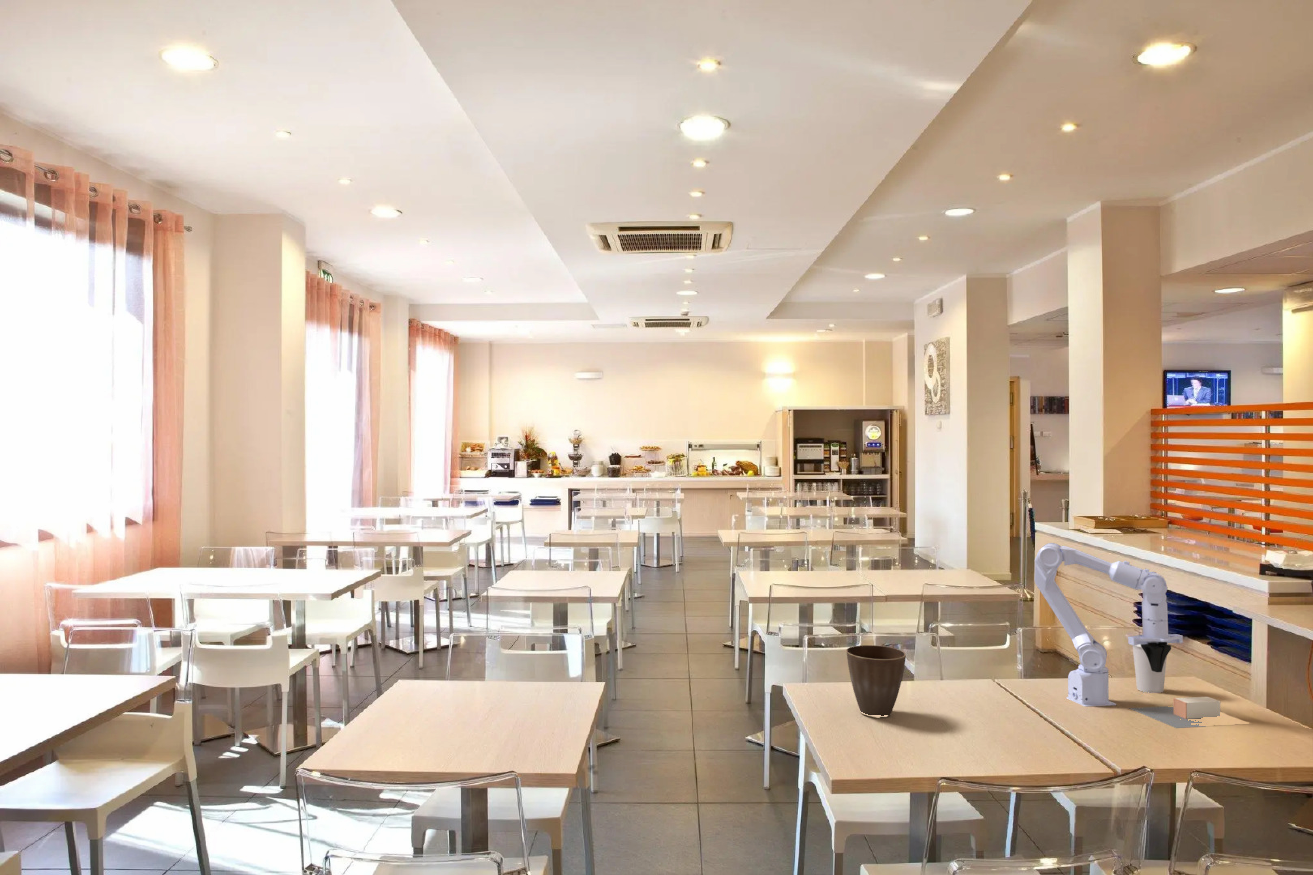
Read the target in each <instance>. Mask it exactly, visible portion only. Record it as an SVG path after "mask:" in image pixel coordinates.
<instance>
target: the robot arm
mask: <svg viewBox="0 0 1313 875" xmlns="http://www.w3.org/2000/svg"><path fill="white" fill-rule="evenodd" d="M1062 563H1064V564H1063V566H1070V565H1078V566H1082V567H1086V568H1088V569H1091V570H1095V571H1096V572H1097V571H1098V572H1100V573H1103V574H1106V575H1108V577H1109V578H1110V580H1111V581H1112V582H1114V583H1117V584H1120V585H1123V586H1126V587H1128V588H1131V589H1134V590H1141V591H1142V600H1141V614H1142V615H1141V618H1142V634H1138V635H1137V636H1136V635H1133V636H1128V637H1127V640H1128V645H1131V646H1132V645H1134V646H1135V645H1141V647H1142V648H1143V650H1144V652H1145V653H1146V655H1147V658H1148V660H1149V663H1150V666H1151V670H1152V671H1154V672H1162V669H1163V665H1164V662H1165V659H1166V657H1167V656H1168V655H1169V653H1170V652H1171V650H1172V645H1170V644H1175V643H1177V644H1183V643H1184V639H1183V638H1184V636H1183V635H1180V634H1176V633H1173V634H1171V633H1169V622H1168V621H1169V618H1168V615H1169V614H1168V602H1167V595H1166V593H1167V591H1168V586H1167V581H1166V580H1165V578H1164V576H1162V575H1161V574H1160V573H1157V572H1156V571H1150V569H1148V568H1145V569H1144V568H1140V567H1138V566H1135V565H1132V564H1130V561H1127V560H1124V561H1121V560H1117V561H1115V562H1110V561H1107V560H1104V559H1102V558H1100V557H1097V556H1095V555H1092V554H1089V553H1086V552H1084V551H1081V550H1079V549H1077V548H1073V547H1069V546H1066V545H1059V544H1058V543H1055V542H1049V543H1046V544H1044V545H1043V546H1042V547H1040V548H1039V550H1038V551H1037V554H1036V557H1035V558H1034V583H1035V585H1036V586H1037V588H1038V590H1039V592H1040V593H1041V594H1042V596H1043V598H1044V599H1045V600H1046V602H1047V604H1048V605H1049V607H1050V609H1051V610H1052V612H1053V613H1054V615H1055V616H1056V618H1057V619H1058V620H1059V622H1060V624H1061V625H1062V627H1063V628H1064V630H1065V632H1066V633H1067V635H1068V636H1069V638H1070V639H1071V641H1072V643H1073V646H1074V648H1075V650H1076V651H1077V654H1078V656H1079V658H1078V659H1079V663H1080V664H1078V666H1077V667H1078V668H1076V669H1075V670H1071V671H1070V672H1069V673H1068V676H1067V691H1068V692H1067V696H1066V699H1067V700H1069V701H1072V702H1074V703H1076V704H1078V705H1081V706H1082V707H1087V708H1088V707H1101V706H1102V707H1105V706H1106V707H1107V706H1117V703H1115V702H1113V701H1110V700H1109V692H1110V691H1109V668H1108V667H1106V664H1107V657H1108V652H1107V649H1106V648H1105V646H1104V645H1102V643H1099V641H1097V640H1096V639H1095V637H1094V636H1093V635H1092V634H1091V633H1090V631H1088V629H1087V628H1086V626H1085V624H1084V623H1083V622H1082V619H1081V618H1080V617H1079V615H1078V614H1077V612H1076V611H1075V609H1074V608H1073V606H1072V605H1071V604H1070V602H1069V600H1068V599H1067V597H1066V596H1065V594H1064V592H1063V591H1062V590H1061V588H1060V586H1059V585H1058V583H1057V582H1056V580H1055V578H1056V576H1057V572H1058V569H1059V567H1060V565H1061V564H1062ZM1167 643H1168V644H1167ZM1166 660H1167V659H1166Z"/></svg>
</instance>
